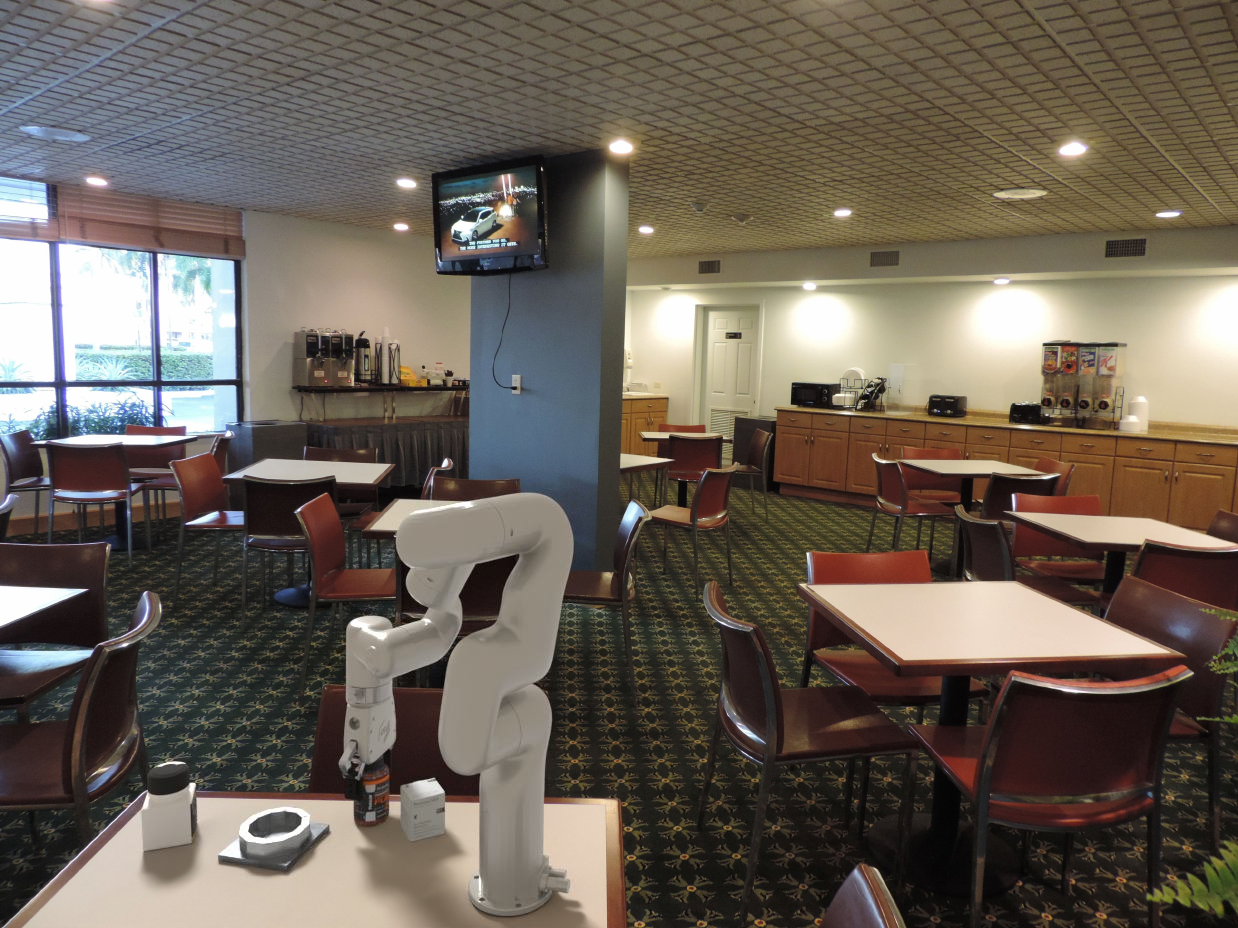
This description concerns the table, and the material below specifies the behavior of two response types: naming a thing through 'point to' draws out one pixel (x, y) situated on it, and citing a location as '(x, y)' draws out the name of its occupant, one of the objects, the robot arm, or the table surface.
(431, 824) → the skincare box
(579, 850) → the table surface
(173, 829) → the medicine bottle
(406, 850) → the table surface
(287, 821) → the ring plate
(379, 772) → the supplement bottle
